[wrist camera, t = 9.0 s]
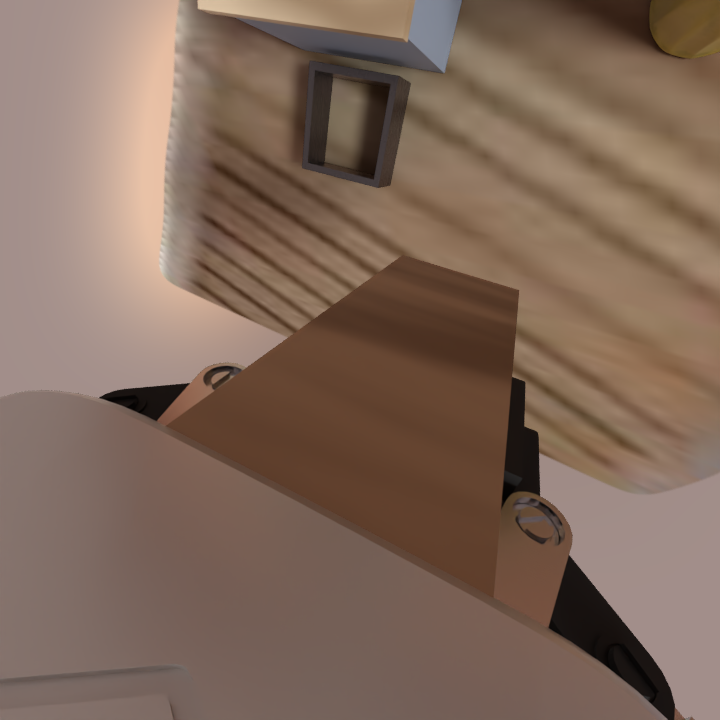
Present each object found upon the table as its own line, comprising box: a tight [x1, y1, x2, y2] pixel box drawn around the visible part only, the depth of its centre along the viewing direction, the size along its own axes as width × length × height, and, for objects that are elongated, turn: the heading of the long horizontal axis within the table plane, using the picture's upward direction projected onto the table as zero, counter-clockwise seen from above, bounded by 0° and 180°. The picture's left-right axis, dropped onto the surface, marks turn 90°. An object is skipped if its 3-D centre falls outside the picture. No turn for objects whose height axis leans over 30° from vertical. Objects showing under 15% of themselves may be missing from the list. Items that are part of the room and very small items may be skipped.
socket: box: [302, 61, 411, 188], centre depth 28 cm, size 7×7×3 cm
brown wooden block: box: [166, 255, 519, 598], centre depth 9 cm, size 5×5×16 cm
